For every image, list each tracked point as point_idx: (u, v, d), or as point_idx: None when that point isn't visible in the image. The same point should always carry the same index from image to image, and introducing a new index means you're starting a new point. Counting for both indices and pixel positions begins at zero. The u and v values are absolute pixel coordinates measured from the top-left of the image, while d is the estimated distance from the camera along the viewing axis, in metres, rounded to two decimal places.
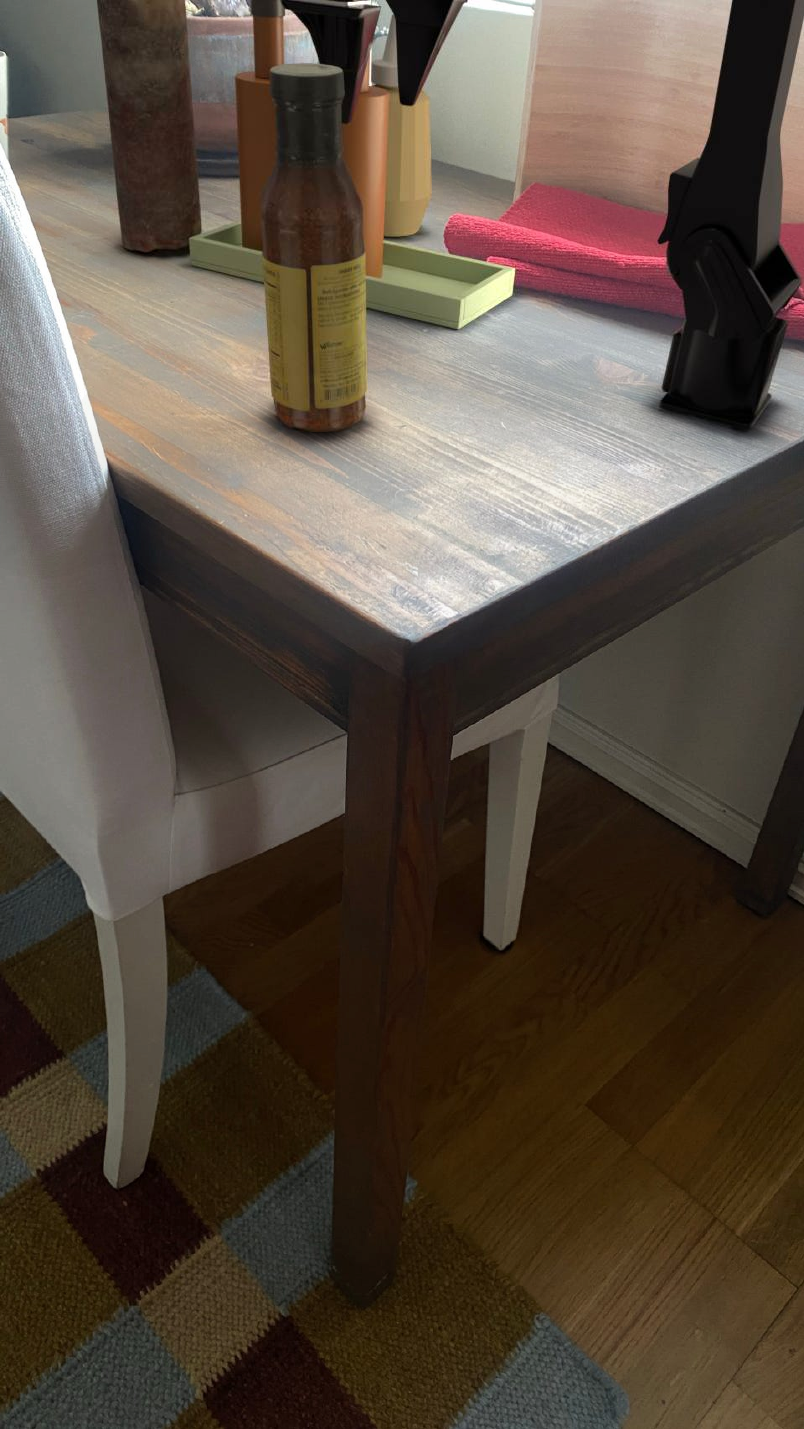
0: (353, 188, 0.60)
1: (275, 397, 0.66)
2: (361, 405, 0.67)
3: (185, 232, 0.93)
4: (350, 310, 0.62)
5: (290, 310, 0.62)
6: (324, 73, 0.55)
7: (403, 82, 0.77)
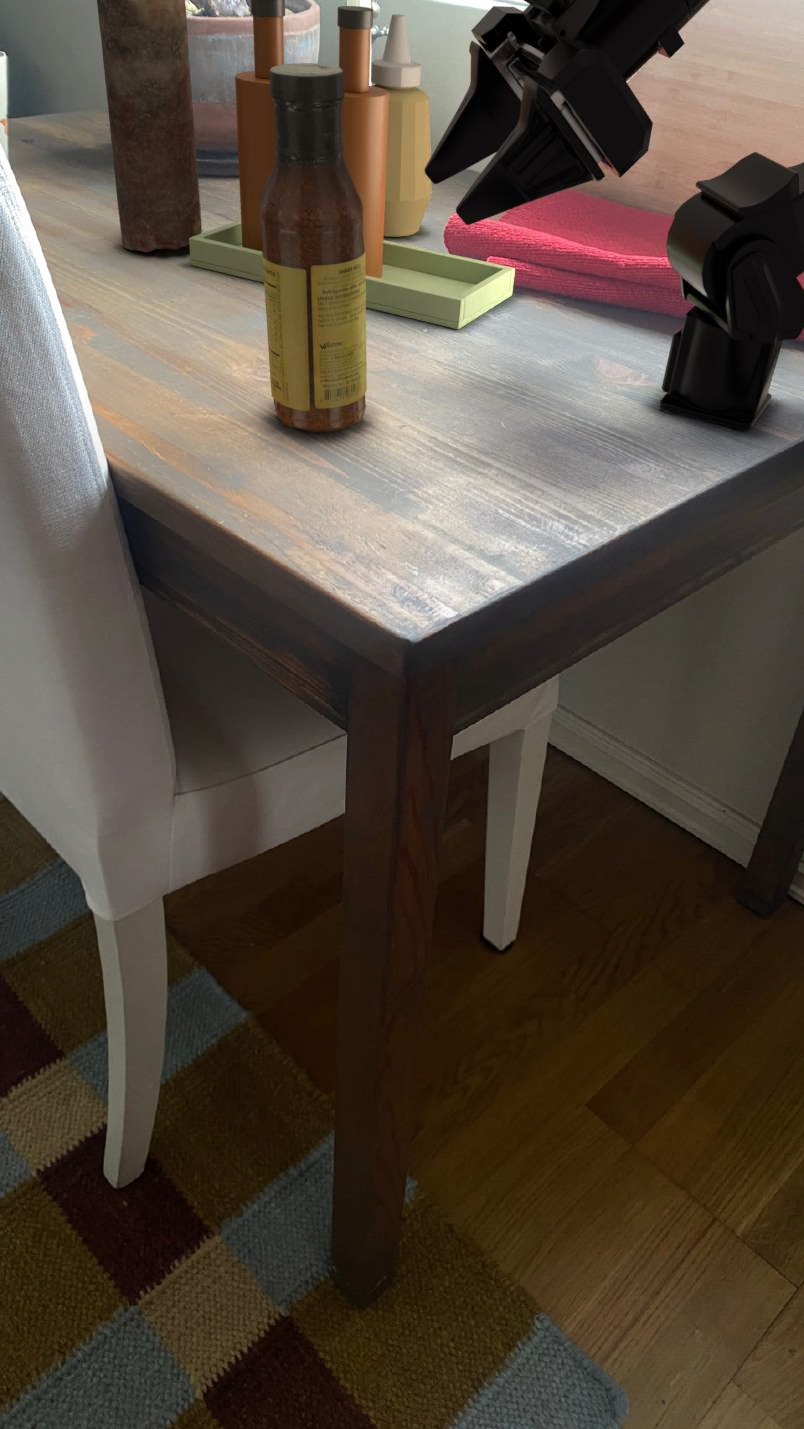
0: (353, 188, 0.60)
1: (275, 397, 0.66)
2: (361, 405, 0.67)
3: (185, 232, 0.93)
4: (350, 310, 0.62)
5: (290, 310, 0.62)
6: (324, 73, 0.55)
7: (442, 155, 0.64)
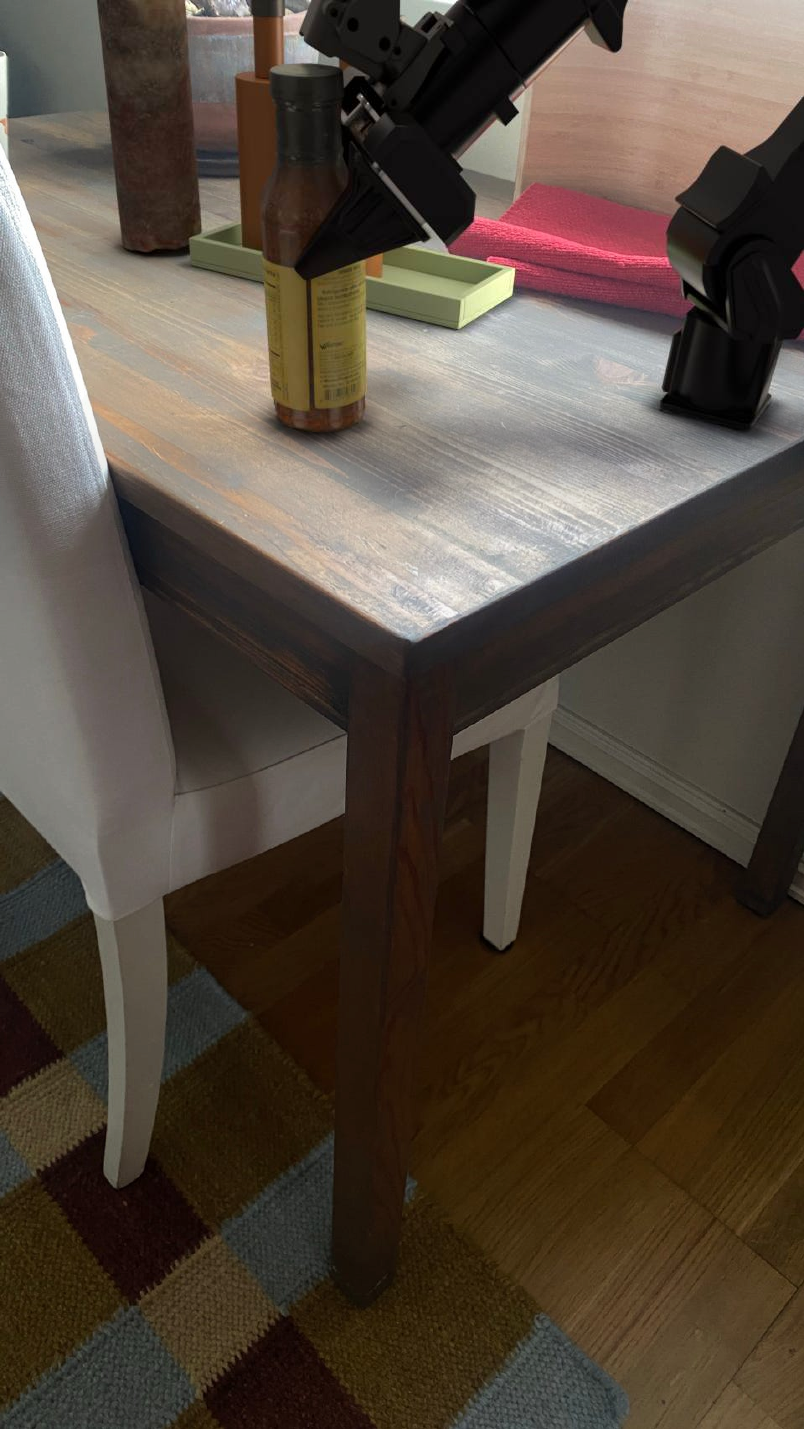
0: None
1: (275, 397, 0.66)
2: (361, 405, 0.67)
3: (185, 232, 0.93)
4: (350, 310, 0.62)
5: (289, 310, 0.62)
6: (324, 73, 0.55)
7: None
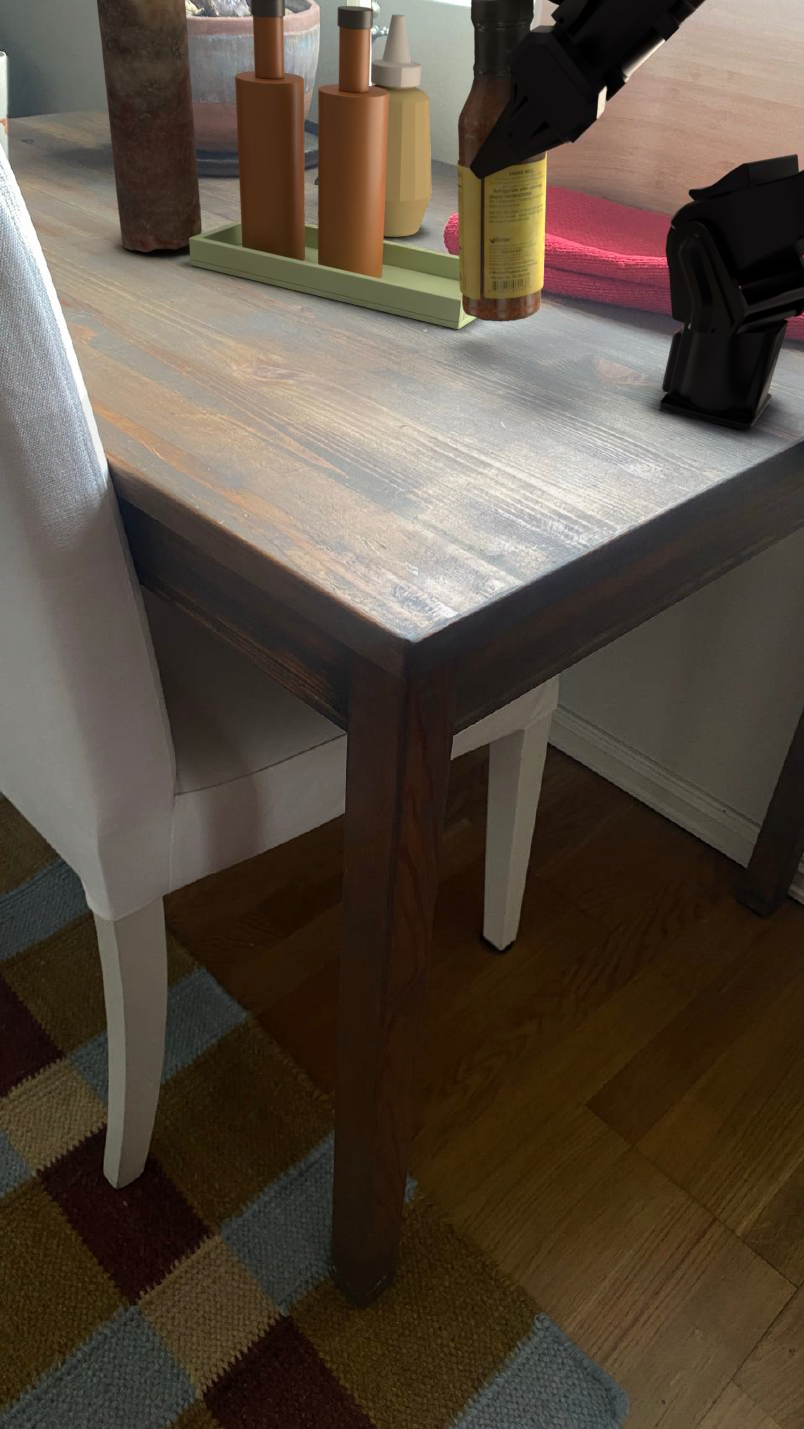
0: None
1: (460, 288, 0.78)
2: (531, 301, 0.76)
3: (185, 232, 0.93)
4: (520, 210, 0.72)
5: (468, 206, 0.73)
6: None
7: None
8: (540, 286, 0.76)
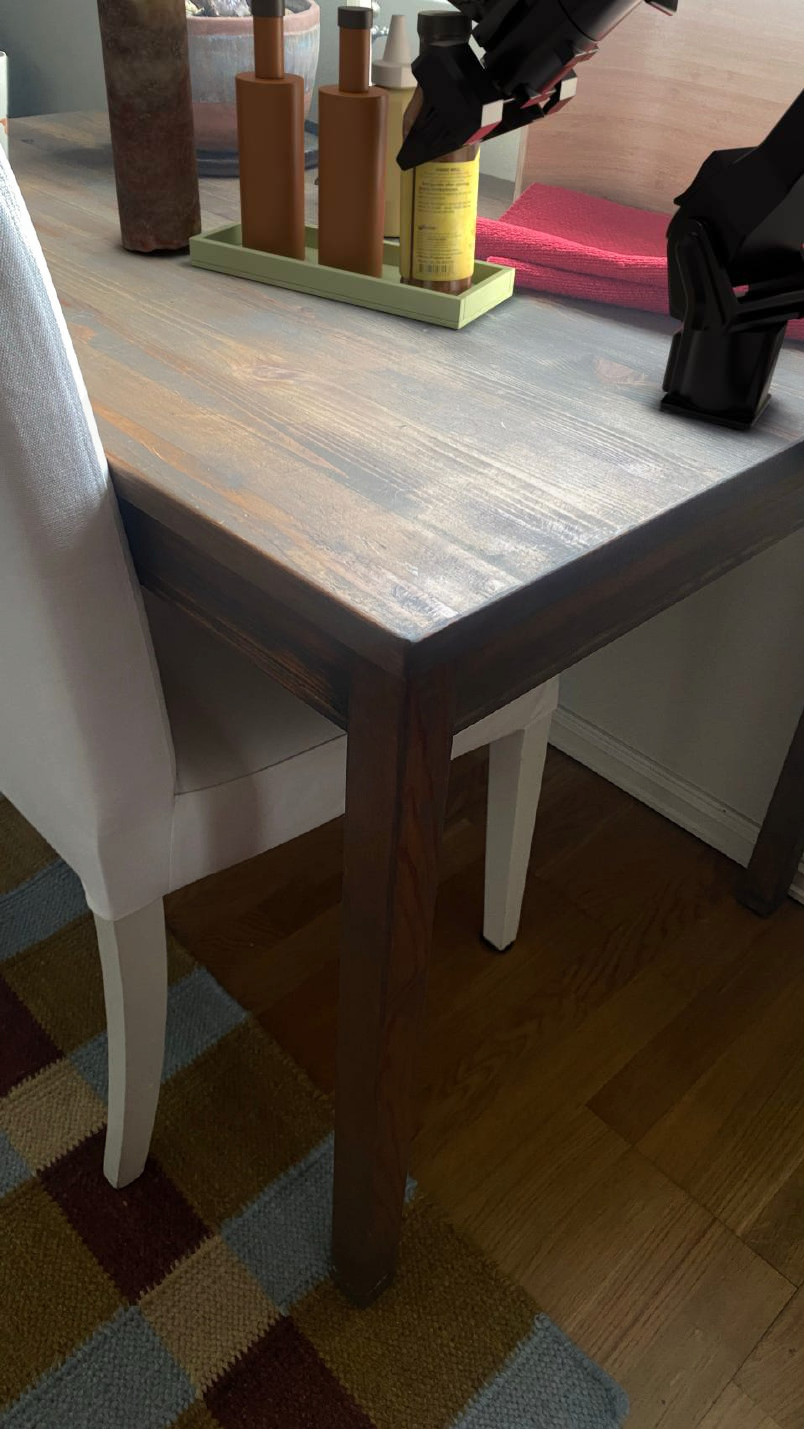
0: None
1: None
2: (455, 287, 0.85)
3: (185, 232, 0.93)
4: (445, 203, 0.81)
5: (404, 195, 0.82)
6: (444, 14, 0.74)
7: None
8: (466, 275, 0.85)
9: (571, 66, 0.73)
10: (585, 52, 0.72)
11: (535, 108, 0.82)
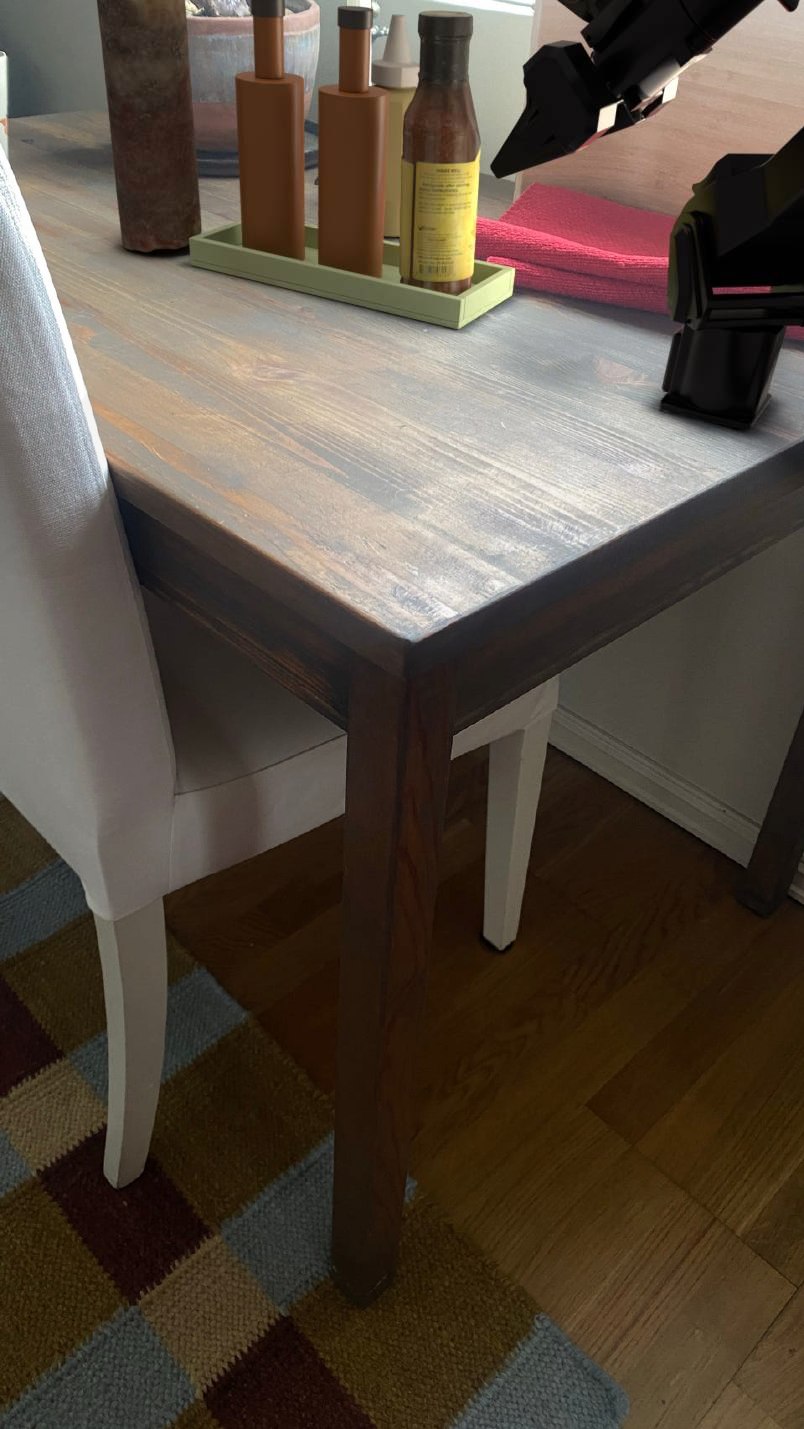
0: (464, 109, 0.78)
1: None
2: (455, 288, 0.85)
3: (185, 232, 0.93)
4: (445, 204, 0.81)
5: (404, 195, 0.82)
6: (445, 15, 0.74)
7: None
8: (466, 275, 0.85)
9: (685, 67, 0.70)
10: (701, 52, 0.69)
11: (636, 110, 0.79)
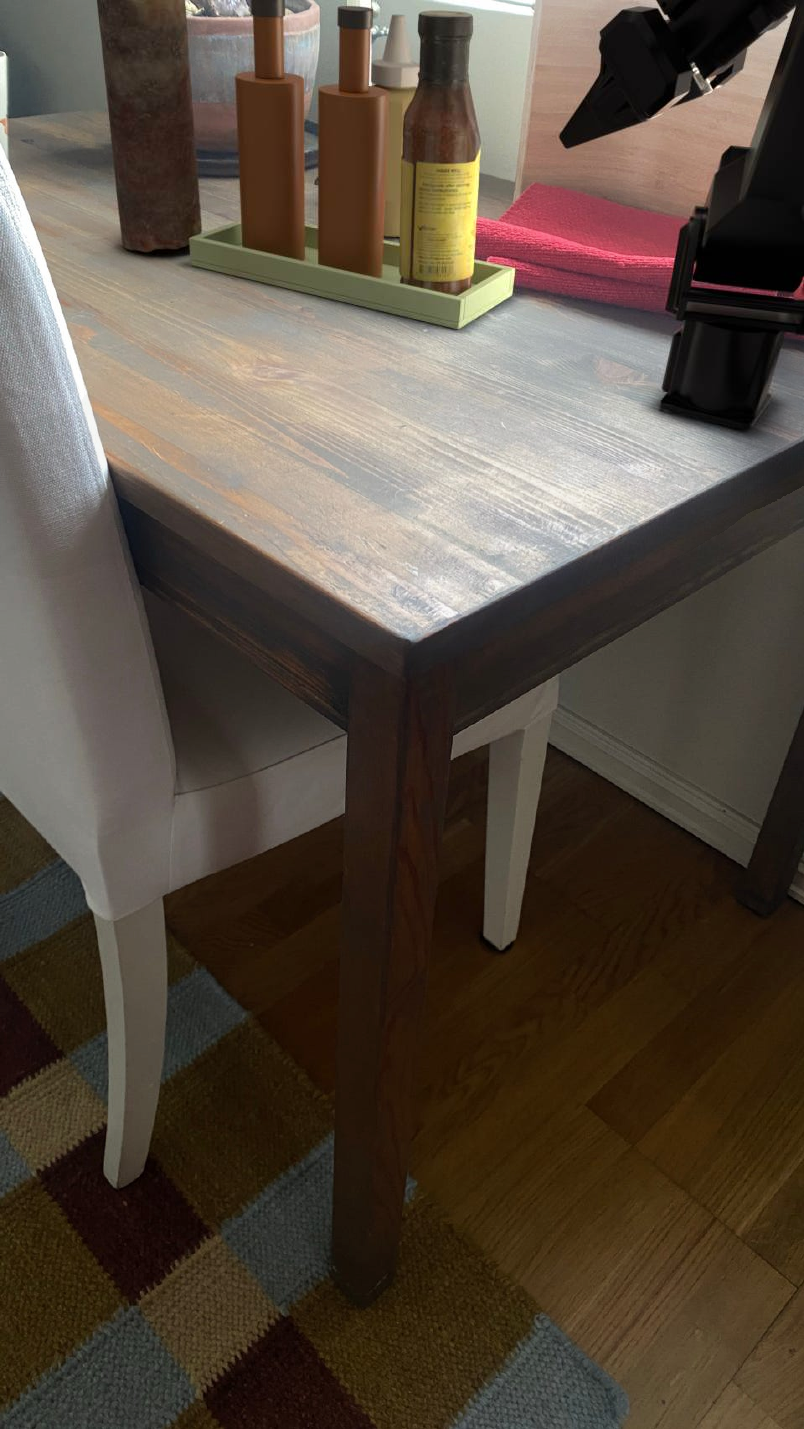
0: (464, 109, 0.78)
1: None
2: (455, 288, 0.85)
3: (185, 232, 0.93)
4: (445, 204, 0.81)
5: (404, 195, 0.82)
6: (445, 15, 0.74)
7: None
8: (466, 275, 0.85)
9: (761, 35, 0.70)
10: (778, 19, 0.69)
11: (704, 81, 0.79)
